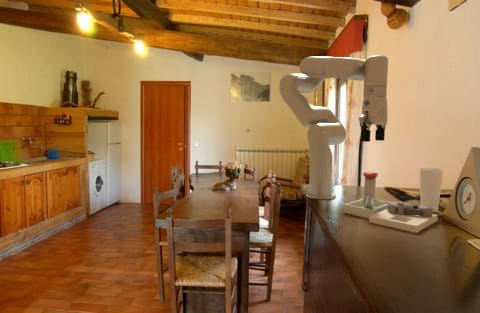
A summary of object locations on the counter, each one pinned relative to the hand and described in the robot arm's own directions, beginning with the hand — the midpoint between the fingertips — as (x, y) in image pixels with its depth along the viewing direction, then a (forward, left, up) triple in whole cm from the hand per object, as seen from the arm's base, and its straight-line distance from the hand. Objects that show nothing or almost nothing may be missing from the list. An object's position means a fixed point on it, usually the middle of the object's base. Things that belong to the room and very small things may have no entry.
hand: (372, 141), depth 114 cm
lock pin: (+1, -4, -24) cm, 24 cm away
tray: (+1, -4, -25) cm, 25 cm away
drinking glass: (+15, +12, -25) cm, 32 cm away
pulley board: (+14, -7, -25) cm, 30 cm away
